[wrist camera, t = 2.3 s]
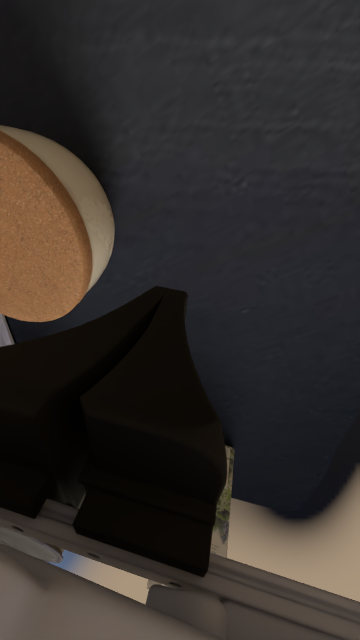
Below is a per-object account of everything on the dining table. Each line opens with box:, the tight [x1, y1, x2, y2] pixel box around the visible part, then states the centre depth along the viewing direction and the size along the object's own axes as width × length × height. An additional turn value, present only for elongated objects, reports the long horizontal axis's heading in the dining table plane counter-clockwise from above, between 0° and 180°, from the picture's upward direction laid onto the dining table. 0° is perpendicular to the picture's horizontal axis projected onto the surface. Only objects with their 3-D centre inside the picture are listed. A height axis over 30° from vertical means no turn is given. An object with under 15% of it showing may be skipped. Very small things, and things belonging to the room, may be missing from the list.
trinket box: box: [0, 125, 115, 322], centre depth 17 cm, size 11×11×9 cm
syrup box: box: [147, 445, 234, 589], centre depth 30 cm, size 6×6×14 cm
